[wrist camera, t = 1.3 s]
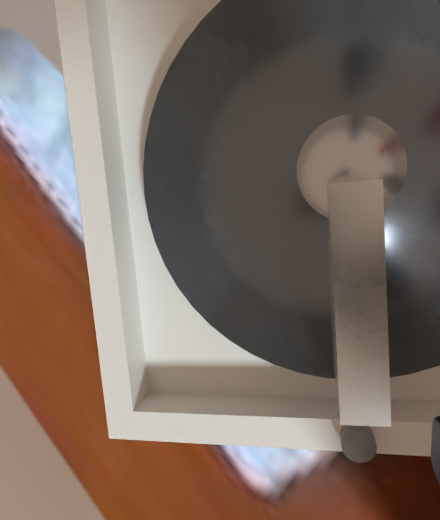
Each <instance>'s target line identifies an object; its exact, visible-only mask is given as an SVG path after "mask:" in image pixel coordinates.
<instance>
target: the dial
mask: <svg viewBox="0 0 440 520" xmlns="http://www.w3.org/2000/svg"><path fill="white" fill-rule="evenodd" d="M143 177H144V196H145V202H146V208H147V214H148V220H149V223H150V226H151V230H152V233H153V237H154V240H155V243H156V246H157V248H158V250H159V253H160V255H161V257H162V260H163V262H164V264H165V266H166V268H167V270H168V272H169V273H170V275H171V277H172V278H173V280H174V282H175V284H176V285H177V287H178V288H179V290H180V291H181V292H182V294H183V295H184V296H185V298H186V299H187V300H188V302H189V303H190V304H191V305H192V307H193V308H194V309H195V310H196V311H197V312H198V313H199V314H200V315H201V316H202V317H203V318H204V319H205V320H206V321H207V322H208V323H209V324H210V325H211V326H212V327H213V328H215V329H216V330H217V331H218V332H220V333H221V334H222V335H223V336H225V337H226V338H227V339H228V340H230V341H231V342H233V343H234V344H236V345H238V346H239V347H241V348H242V349H244V350H246V351H247V352H249V353H251V354H252V355H255V356H257V357H259V358H261V359H263V360H265V361H268V362H270V363H272V364H274V365H277V366H280V367H283V368H286V369H289V370H292V371H295V372H298V373H303V374H308V375H313V376H318V377H323V378H331V379H335V381H336V390H337V399H338V408H339V417H340V425H352V426H376V427H391V400H390V377H396V376H402V375H408V374H412V373H416V372H419V371H423V370H426V369H430V368H433V367H437V366H439V365H440V0H221V1H220V2H219V3H218V4H217V5H216V6H215V7H214V8H213V9H212V10H211V11H210V12H209V13H208V14H207V15H206V16H205V17H204V18H203V19H202V20H201V21H200V23H199V24H198V25H197V27H196V28H195V29H194V30H193V32H192V33H191V34H190V35H189V37H188V38H187V39H186V41H185V42H184V44H183V45H182V47H181V49H180V50H179V52H178V53H177V55H176V57H175V58H174V60H173V62H172V63H171V65H170V67H169V69H168V71H167V73H166V76H165V78H164V80H163V82H162V84H161V87H160V89H159V91H158V94H157V97H156V100H155V103H154V106H153V110H152V113H151V116H150V120H149V125H148V130H147V136H146V141H145V150H144V164H143Z"/></svg>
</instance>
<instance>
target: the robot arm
mask: <svg viewBox="0 0 440 520" xmlns="http://www.w3.org/2000/svg"><path fill="white" fill-rule="evenodd" d="M431 462H432V466H433V470H434V472H435V475H436V478H437V481H438V484H439V486H440V416H436V417H435V418H434V419H433V422H432V438H431Z"/></svg>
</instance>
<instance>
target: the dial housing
mask: <svg viewBox="0 0 440 520" xmlns="http://www.w3.org/2000/svg"><path fill="white" fill-rule="evenodd" d="M220 1H221V0H54V3H55V11H56V19H57V27H58V35H59V43H60V50H61V59H62V67H63V75H64V83H65V91H66V99H67V107H68V115H69V123H70V131H71V139H72V146H73V154H74V162H75V170H76V178H77V186H78V194H79V202H80V210H81V218H82V226H83V234H84V242H85V250H86V258H87V266H88V274H89V282H90V290H91V298H92V305H93V313H94V321H95V329H96V337H97V345H98V353H99V361H100V369H101V377H102V385H103V393H104V401H105V409H106V417H107V425H108V433H109V438H111V439H128V440H146V441H164V442H182V443H200V444H218V445H235V446H253V447H271V448H289V449H307V450H325V451H342V452H343V453H344V454H345V456H346V457H347V458H349V459H350V460H352V461H354V462H358V463H364V462H368V461H370V460H371V459H372V458H373V457H374V456H375V454H376V453H378V454H396V455H414V456H431V438H432V422H433V419H434V418H435V417H436V416H440V365H439V366H437V367H433V368H430V369H426V370H423V371H419V372H416V373H412V374H408V375H402V376H396V377H390V400H391V427H376V426H352V425H340V417H339V408H338V399H337V390H336V381H335V379H331V378H323V377H318V376H313V375H308V374H303V373H298V372H295V371H292V370H289V369H286V368H283V367H280V366H277V365H274V364H272V363H270V362H268V361H265V360H263V359H261V358H259V357H257V356H255V355H252V354H251V353H249V352H247V351H246V350H244V349H242V348H241V347H239V346H238V345H236V344H234V343H233V342H231V341H230V340H228V339H227V338H226V337H225V336H223V335H222V334H221V333H220V332H218V331H217V330H216V329H215V328H213V327H212V326H211V325H210V324H209V323H208V322H207V321H206V320H205V319H204V318H203V317H202V316H201V315H200V314H199V313H198V312H197V311H196V310H195V309H194V308H193V307H192V305H191V304H190V303H189V302H188V300H187V299H186V298H185V296H184V295H183V294H182V292H181V291H180V290H179V288H178V287H177V285H176V284H175V282H174V280H173V278H172V277H171V275H170V273H169V272H168V270H167V268H166V266H165V264H164V262H163V260H162V257H161V255H160V253H159V250H158V248H157V246H156V243H155V240H154V237H153V233H152V230H151V226H150V223H149V220H148V214H147V208H146V202H145V196H144V177H143V164H144V150H145V141H146V136H147V130H148V125H149V120H150V116H151V113H152V110H153V106H154V103H155V100H156V97H157V94H158V91H159V89H160V87H161V84H162V82H163V80H164V78H165V76H166V73H167V71H168V69H169V67H170V65H171V63H172V62H173V60H174V58H175V57H176V55H177V53H178V52H179V50H180V49H181V47H182V45H183V44H184V42H185V41H186V39H187V38H188V37H189V35H190V34H191V33H192V32H193V30H194V29H195V28H196V27H197V25H198V24H199V23H200V21H201V20H202V19H203V18H204V17H205V16H206V15H207V14H208V13H209V12H210V11H211V10H212V9H213V8H214V7H215V6H216V5H217V4H218V3H219V2H220Z"/></svg>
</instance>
